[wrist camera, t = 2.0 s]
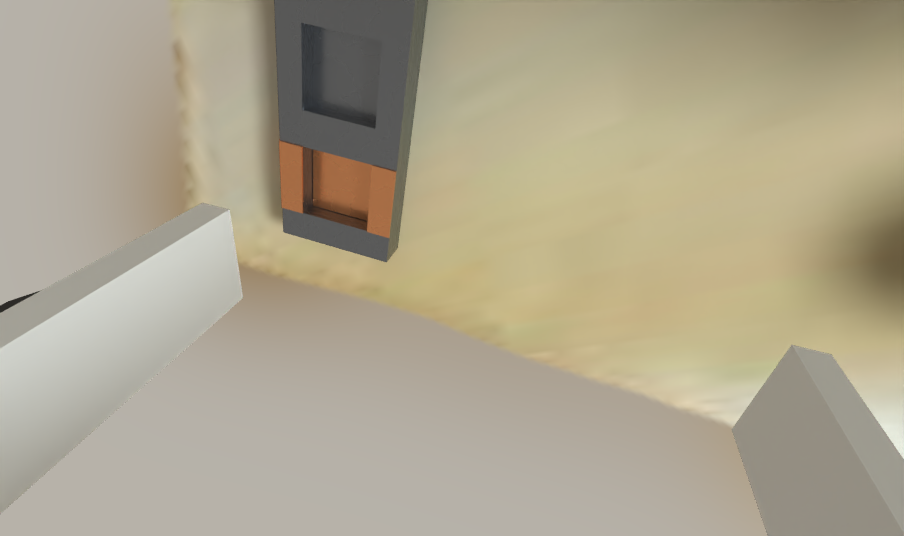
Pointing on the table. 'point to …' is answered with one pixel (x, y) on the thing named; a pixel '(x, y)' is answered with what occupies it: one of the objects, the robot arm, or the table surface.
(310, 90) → the rail
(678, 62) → the table surface
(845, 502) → the robot arm
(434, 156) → the table surface
